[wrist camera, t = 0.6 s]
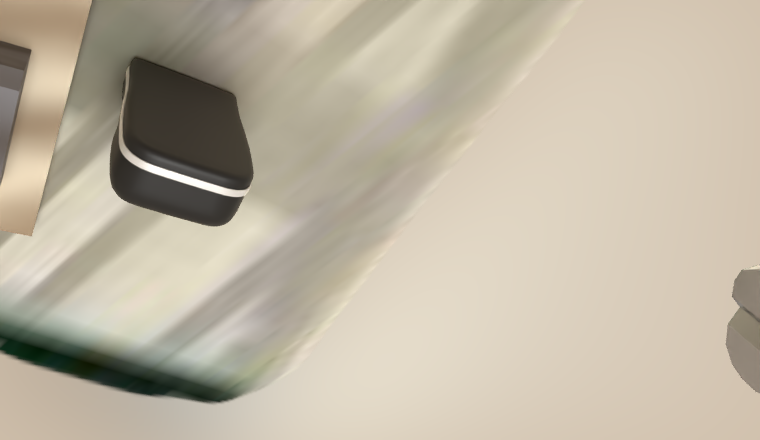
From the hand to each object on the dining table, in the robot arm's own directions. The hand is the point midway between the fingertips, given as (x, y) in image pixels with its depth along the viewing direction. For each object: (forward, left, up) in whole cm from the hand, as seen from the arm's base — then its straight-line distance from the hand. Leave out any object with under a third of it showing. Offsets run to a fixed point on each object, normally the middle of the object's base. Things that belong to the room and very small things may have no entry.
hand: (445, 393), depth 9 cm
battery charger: (+13, +2, -38) cm, 40 cm away
